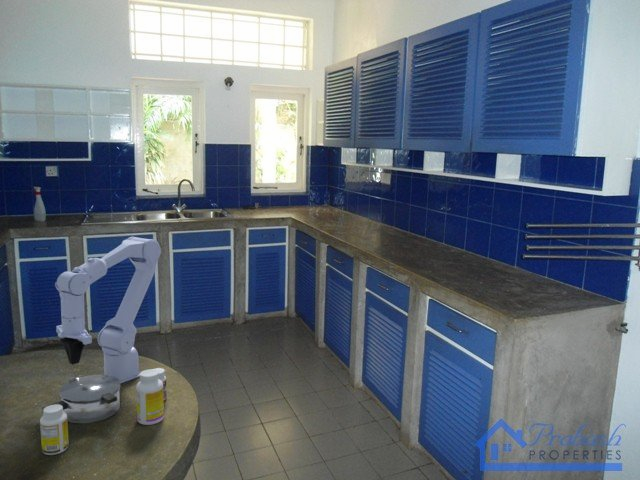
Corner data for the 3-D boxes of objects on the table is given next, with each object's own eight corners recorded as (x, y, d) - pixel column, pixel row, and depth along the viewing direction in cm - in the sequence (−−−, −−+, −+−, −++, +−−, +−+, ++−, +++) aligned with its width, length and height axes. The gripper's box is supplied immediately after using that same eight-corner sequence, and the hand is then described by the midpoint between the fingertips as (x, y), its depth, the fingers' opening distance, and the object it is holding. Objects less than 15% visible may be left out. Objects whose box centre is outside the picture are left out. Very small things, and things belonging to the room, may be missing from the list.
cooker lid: (100, 373, 146) (100, 369, 145) (138, 392, 135) (138, 388, 135) (48, 390, 134) (48, 386, 134) (84, 413, 123) (84, 408, 123)
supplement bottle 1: (62, 440, 122) (60, 400, 120) (73, 449, 118) (71, 407, 117) (37, 449, 117) (35, 408, 116) (48, 459, 114) (45, 416, 112)
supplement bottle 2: (169, 416, 134) (168, 369, 132) (153, 428, 128) (152, 380, 126) (147, 411, 136) (146, 365, 134) (131, 423, 130) (129, 375, 128)
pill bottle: (161, 403, 141) (160, 375, 139) (145, 401, 142) (145, 373, 140) (169, 396, 145) (169, 368, 144) (154, 394, 146) (153, 366, 145)
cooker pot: (101, 392, 146) (101, 374, 145) (130, 408, 138) (129, 389, 137) (32, 418, 131) (31, 398, 130) (59, 437, 123) (58, 416, 122)
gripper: (44, 313, 140) (46, 360, 142) (73, 324, 132) (74, 374, 134) (69, 308, 146) (71, 353, 148) (98, 318, 138) (99, 366, 140)
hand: (74, 362), depth 141 cm, fingers closed
